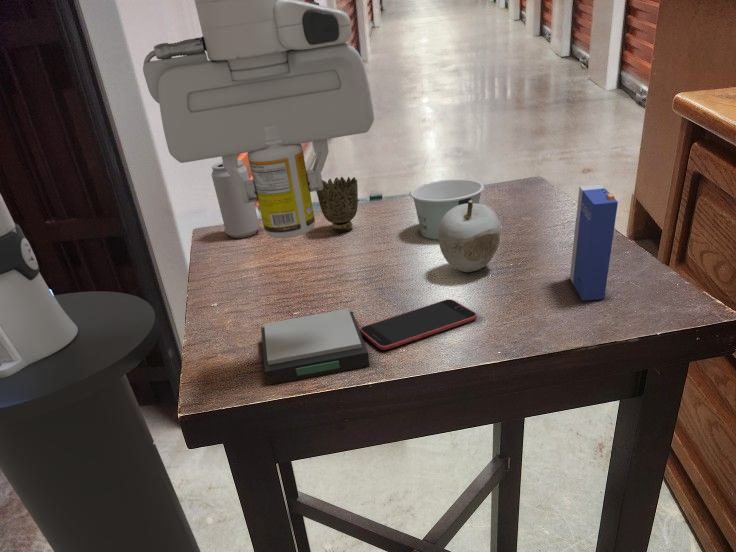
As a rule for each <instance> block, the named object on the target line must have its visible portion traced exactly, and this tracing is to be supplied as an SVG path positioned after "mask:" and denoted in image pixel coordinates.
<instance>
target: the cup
mask: <svg viewBox="0 0 736 552" xmlns="http://www.w3.org/2000/svg"><path fill="white" fill-rule="evenodd" d="M322 183H323V190H318V191H315V192H316V195H317V199H318V203H319V207H320V210H321V213H322V215H323V217H324V219H326V220H327V222H329V223H331V224H332V225H331V228H332V230H333V231H334V232H336V233H345V232H348V231H350V230H351V229H352V227H353V222H352V220H354V218H355V217H356V215H357V212H358V206H359V195H358V194H359V192H358V186H359V185H358V179H357V178H356V176H353V177H352V178H350V176H348V177H347V179H345V178H344V177H343V176H341V177H340V178H339V177H335V178H334V180H333V181H332V179H331V178H329V179H328V181H326V180H324V179H322Z"/></svg>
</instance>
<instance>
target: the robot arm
mask: <svg viewBox="0 0 736 552" xmlns="http://www.w3.org/2000/svg"><path fill="white" fill-rule="evenodd" d="M194 4H195V8H196V9H195V10H196V11H197V17H198V21H199V25H200V30H201V33H202V36H200V37H195V38H187V39H183V40H180V41H177V42H173V43H168V42H162V43H158V44H156V45H153V50H152V51H150V52H148V53H147V55H146V56H145V57H144V60H143V65H142V70H143V76H144V79H145V82H146V86H147V90H148V92H149V94H150V96H151V97H152V99H153V100H154V101H155V102H157V104H159V111H160V118H161V124H162V128H163V133H164V137H165V142H166V146H167V150H168V153H169V154H170V155H171V157H173V158H174V160H175V161H177V162H179V163H181V164H184V163H190V162H197V161H203V160H209V159H214V158H220V157H221V160H222V162H223V164H224V168H225V170H226V171H227V172H228V174H229V175H230V176H231V177H232V178H233V179H234V181H235V182H236V183H237V184H238V185H240V188H241V192H242V197H243V201H244V203H249V202H254V203H255V202H258V198H257V194H256V189H255V185H254V181H253V178H252V179H249V180H245V178H244V177H243V176H242V175H241V173H240V172H239V171H238V170H237V168H236V167H237V166H238V160H239V159H238V156H237V155H238V154H240V155H241V154H245V153H248V152H252V151H258V150H263V149H266V148H268V147H270V145H265V143H266V142H267V140H265V132H264V127H267V126H273V125H276V126H277V128H278V134H279V136H280V138H279V140H281V141H282V142H281V143H279V144H277V145H280V146H287V145H294V144H305V143H311V146H312V149H313V152H314V153H315V154H316V157H315V160H314V163H313V167H312V169H306V172H307V173H306V174H307V180H308V184H309V185H308V186H309V191H310V193H313V192H316V191H318V190H323V183H322V180H323V177H322V172H323V170H324V168H325V167H324V166H325V164H326V161H327V158H328V155H329V152H330V151H329V145H328V140H329V139H336V138H341V137H349V136H354V135H355V136H356V135H360V134H365V133H368V132H369V131H370V129H371V127H372V125H373V124H374V121H375V114H374V113H375V112H374V106H373V99H372V92H371V87H370V83H369V79H368V75H367V70H366V67H365V63H364V61H363V58H362V57H361V55H360V53H359V51H358V50H357V49H356V48H355V47H354V46H352V45H350V44H349V43H347V42H349V41H350V39H351V36H352V23H351V18H350V16H349V14H348V13H346V12H345V11H344V10H341V9H337V8H333V7H329V6H325V5H320V3H319V2H316V1H314V0H307V1H303V0H194ZM154 57H156V59H157V60H152V59H153V58H154ZM54 295H55V294H54V293H53V291H52V289H50V288H49V286H48V285H47V283H46V281H45V279H44V278H43V276H42V275H41V272H40V267H39V264H38V261H37V257H36V255H35V254H34V250H33V248H32V246H31V244H30V242H29V240H28V239H27V238H26V236H25V234H24V232H23V230H22V228H21V226H20V225H19V224H18V223H16V222H15V221H14V219H13V217H12V215H11V213H10V210H9V209H8V207H7V205H6V201H5V200H4V198H3V196H2V194H1V193H0V378H5V377H8V376H11V375H13V374H15V373H17V372H18V371H20V370H21V369H23V368H25V367H26V366H28V365H30V364H32V363H34V362H36V361H39V360H41V359H43V358H45V357H48V356H50V355H52V354H54V353H55V352H57V351H59V350H61V349H62V348H64V347H65V346H66V345H68V344H69V343H70V342H71V341H72V340H73V339H74V338H75V337H76V335H77V333H78V327H77V326H76V325H75V324H74V322H73V321H72V320H71V319H70V318H69V317H68V315H67V314H66V313H65V311H64V310H63V309H62V307H61V306H60V305H59V303H58V302H57V300H56V299H55V297H54Z"/></svg>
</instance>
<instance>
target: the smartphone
mask: <svg viewBox="0 0 736 552" xmlns="http://www.w3.org/2000/svg"><path fill="white" fill-rule="evenodd" d="M477 317H478V314H477V313H476V312H475V311H473V310H471V309H470V308H468V307H466V306H464V305H463V304H461V303H460V302H457V301H456V300H454V299H449V298H448V299H444V300H441V301H437V302H435V303H431V304H429V305H425V306H422V307H419V308H416V309H413V310H410V311H407V312H404V313H401V314H398V315H394V316H391V317H388V318H385V319H382V320H379V321H376V322H372V323H369V324H367V325H364V326H361V327H359V330H360V333H361V336H362V337H364V338H365V339H366V340H367V341H369V342H370V343H371V344H373V345H374V346H375V347H376V348H378V349H379V350H381V351H387V350H391V349H393V348H396V347H399V346H402V345H404V344H405V345H406V344H409V343H411V342H413V341H416V340H419V339H423V338H426V337H428V336H431V335H435V334H437V333H441V332H443V331H446V330H449V329H451V328H455V327H457V326H461V325H463V324H466V323H470V322H473V321H475V320H476V319H477Z"/></svg>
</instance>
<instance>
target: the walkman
mask: <svg viewBox="0 0 736 552" xmlns="http://www.w3.org/2000/svg"><path fill="white" fill-rule="evenodd" d="M618 204H619V201H617V199H616V198H615V195H614V194H613V193H610V192H609V190H608V189H607V188H606V187H604V186H603V184H592V185H591V184H589V185H580V186H579V187H578V198H577V207H576V208H577V209H576V215H575V224H574V234H573V242H572V243H573V244H572V254H571V263H570V274H569V279H570V281H571V283H572V285H573V287H574V288H575V290H576V292H577V294H578V296H579V297H580V299H581V301H583V302H585V301H596V300H597V301H598V300H605V296H606V289H607V282H608V274H609V268H610V260H611V255H612V254H611V253H612V247H613V241H614V232H615V227H616V226H615V225H616V219H617V211H618Z"/></svg>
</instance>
